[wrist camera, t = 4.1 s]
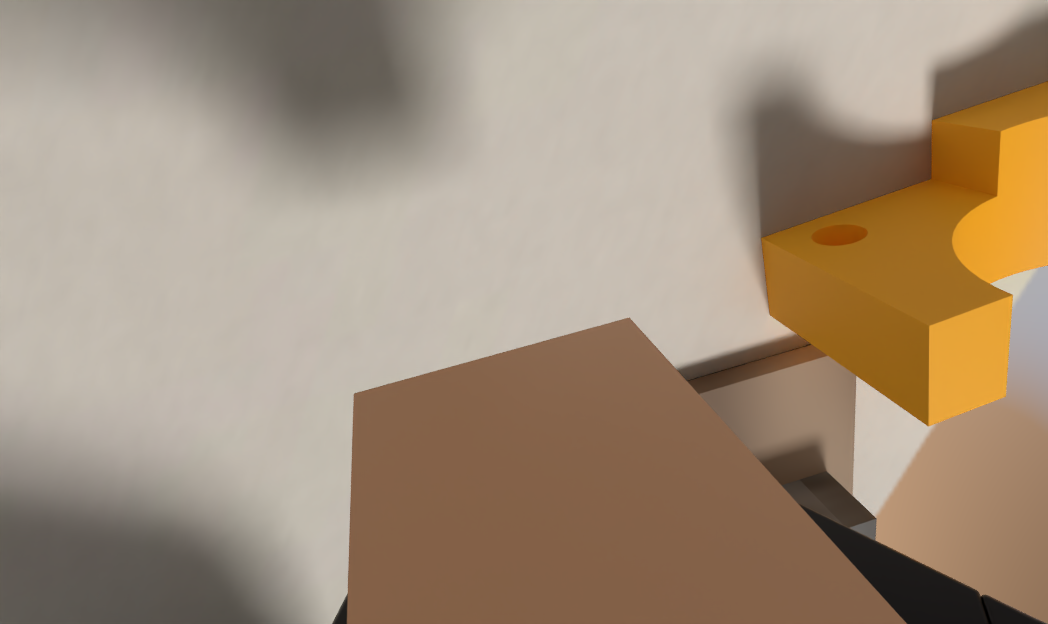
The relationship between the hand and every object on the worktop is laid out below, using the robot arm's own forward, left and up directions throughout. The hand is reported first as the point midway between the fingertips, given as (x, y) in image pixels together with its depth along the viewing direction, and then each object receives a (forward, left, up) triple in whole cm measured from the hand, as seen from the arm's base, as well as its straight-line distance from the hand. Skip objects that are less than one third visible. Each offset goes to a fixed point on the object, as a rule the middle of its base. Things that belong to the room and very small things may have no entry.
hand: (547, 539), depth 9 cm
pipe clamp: (+15, -1, -10) cm, 18 cm away
